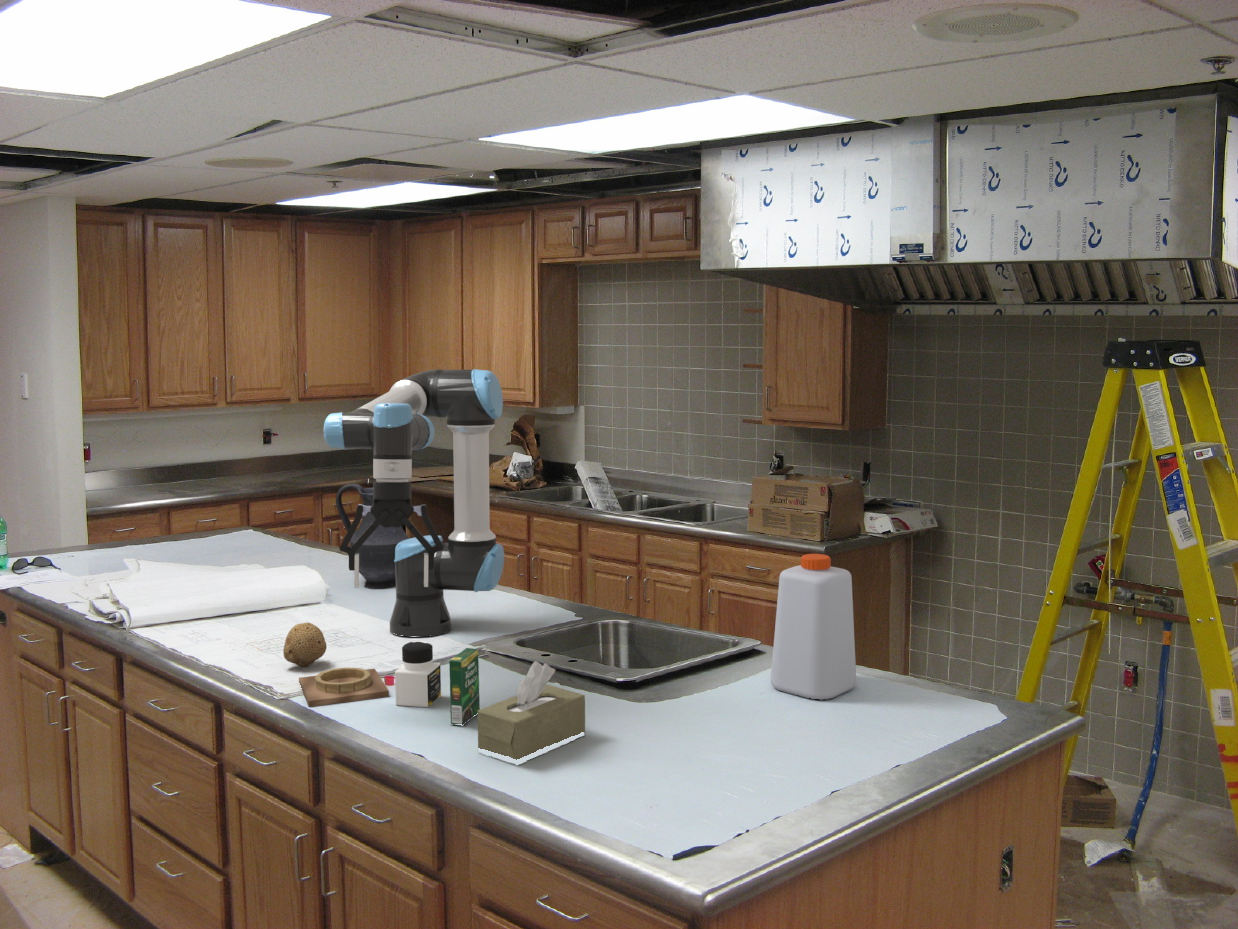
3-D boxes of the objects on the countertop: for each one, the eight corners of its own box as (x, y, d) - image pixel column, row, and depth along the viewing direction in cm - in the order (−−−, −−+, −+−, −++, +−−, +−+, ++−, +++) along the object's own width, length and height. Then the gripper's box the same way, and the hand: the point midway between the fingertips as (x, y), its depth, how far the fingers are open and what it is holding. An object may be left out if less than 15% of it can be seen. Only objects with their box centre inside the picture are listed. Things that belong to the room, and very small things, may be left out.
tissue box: (515, 768, 191) (514, 679, 189) (476, 754, 197) (474, 668, 195) (586, 736, 205) (586, 653, 203) (547, 724, 211) (547, 644, 209)
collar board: (374, 673, 241) (374, 660, 241) (389, 696, 227) (388, 682, 226) (299, 683, 235) (298, 669, 235) (308, 707, 221) (308, 692, 220)
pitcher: (404, 592, 314) (401, 488, 311) (331, 592, 315) (327, 488, 311) (416, 578, 332) (413, 479, 328) (346, 578, 332) (343, 479, 328)
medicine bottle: (428, 708, 220) (427, 649, 218) (395, 705, 221) (393, 647, 220) (441, 696, 227) (440, 639, 225) (408, 694, 228) (407, 637, 227)
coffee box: (463, 727, 209) (461, 660, 208) (449, 726, 210) (447, 659, 208) (481, 713, 217) (479, 648, 215) (467, 712, 218) (466, 647, 216)
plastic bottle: (762, 688, 231) (764, 556, 228) (802, 671, 242) (805, 545, 239) (824, 705, 221) (827, 567, 218) (863, 686, 232) (867, 555, 229)
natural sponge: (336, 664, 249) (334, 620, 247) (309, 675, 241) (307, 630, 239) (304, 658, 252) (302, 616, 251) (277, 670, 244) (275, 625, 243)
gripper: (326, 481, 215) (325, 590, 215) (456, 481, 219) (455, 588, 220) (329, 479, 222) (328, 584, 223) (454, 480, 227) (453, 583, 228)
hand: (391, 586), depth 221 cm, fingers open, 13 cm apart
